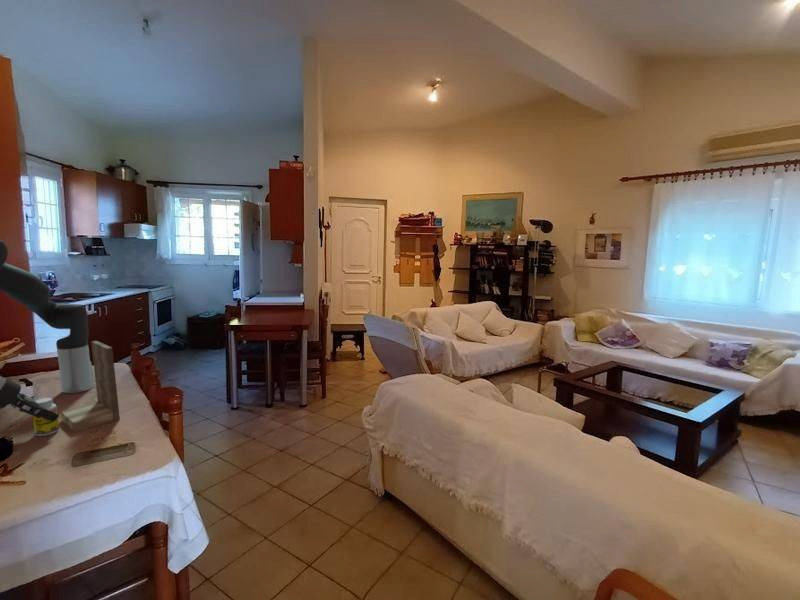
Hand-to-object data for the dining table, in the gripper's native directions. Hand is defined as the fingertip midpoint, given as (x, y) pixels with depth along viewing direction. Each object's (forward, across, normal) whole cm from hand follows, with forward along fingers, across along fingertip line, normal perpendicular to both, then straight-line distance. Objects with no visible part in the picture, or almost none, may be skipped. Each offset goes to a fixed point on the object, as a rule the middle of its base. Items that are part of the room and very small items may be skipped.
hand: (53, 415), depth 121 cm
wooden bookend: (+9, 0, -2) cm, 10 cm away
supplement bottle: (+2, 0, +5) cm, 5 cm away
